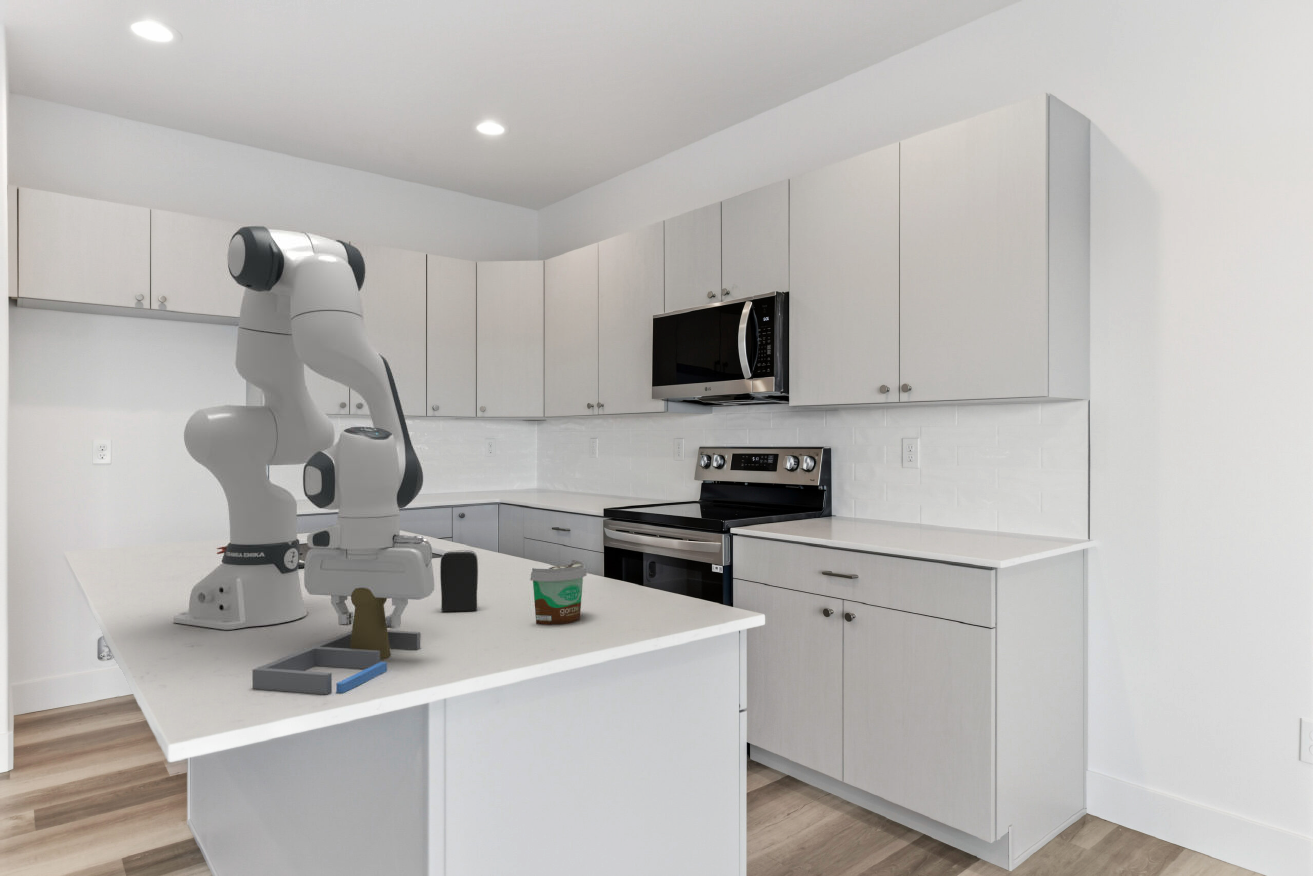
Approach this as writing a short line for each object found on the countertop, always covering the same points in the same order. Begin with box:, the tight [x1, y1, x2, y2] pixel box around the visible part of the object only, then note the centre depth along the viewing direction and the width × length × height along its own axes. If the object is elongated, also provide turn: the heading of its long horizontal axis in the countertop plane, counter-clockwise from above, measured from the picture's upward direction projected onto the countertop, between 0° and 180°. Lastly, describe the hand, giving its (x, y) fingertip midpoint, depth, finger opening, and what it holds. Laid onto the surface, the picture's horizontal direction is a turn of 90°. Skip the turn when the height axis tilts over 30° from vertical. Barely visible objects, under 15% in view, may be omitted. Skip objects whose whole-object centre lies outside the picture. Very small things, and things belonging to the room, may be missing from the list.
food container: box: [529, 559, 588, 626], centre depth 142 cm, size 12×6×10 cm, turn 148°
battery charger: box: [439, 549, 479, 613], centre depth 152 cm, size 7×4×11 cm, turn 98°
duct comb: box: [251, 629, 421, 695], centre depth 114 cm, size 13×23×2 cm, turn 166°
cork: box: [350, 588, 392, 661], centre depth 120 cm, size 6×6×11 cm
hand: (369, 626), depth 120 cm, fingers open, 7 cm apart
